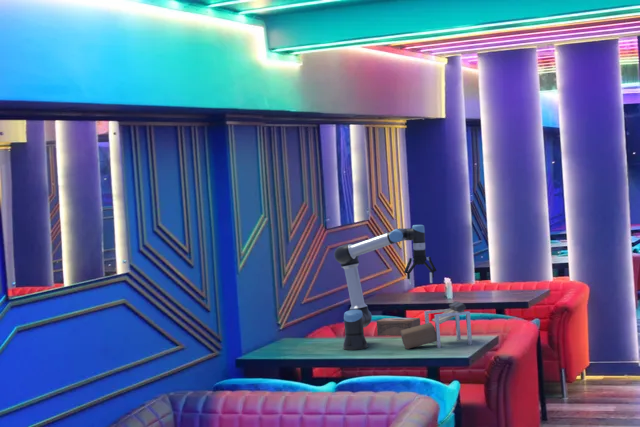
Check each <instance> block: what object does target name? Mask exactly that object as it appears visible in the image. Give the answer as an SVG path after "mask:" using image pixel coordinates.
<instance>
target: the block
mask: <svg viewBox="0 0 640 427" xmlns="http://www.w3.org/2000/svg"><path fill="white" fill-rule="evenodd" d="M401 340H402V345H403V346H404V347H405V349H406V350H410V349H412V348H417V347H421V346H424V345H428V344H431V343H436V331H435V325H433V323H431V322H429V323H427V324H425V323H422V324H420V325H419V326H415V327H412V328H408V329H404V330H401Z"/></svg>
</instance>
